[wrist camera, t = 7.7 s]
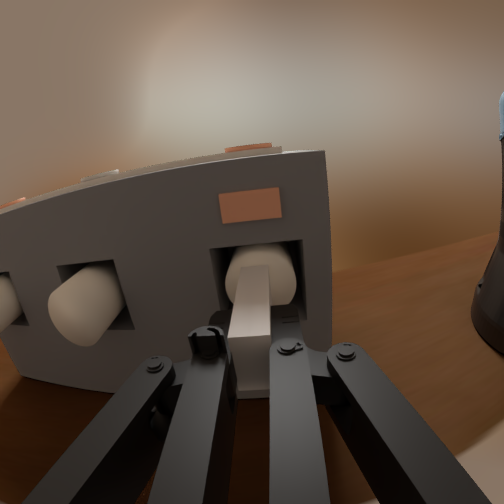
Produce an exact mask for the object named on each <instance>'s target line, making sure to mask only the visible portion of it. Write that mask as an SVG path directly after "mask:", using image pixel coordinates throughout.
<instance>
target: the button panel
mask: <svg viewBox="0 0 504 504" xmlns="http://www.w3.org/2000/svg"><path fill="white" fill-rule="evenodd" d="M118 171H119V170H113V171H108V172H104V173H100V174H96V175H92V176H88V177H85V178H82V179H81V183H79V184H75V185H72V186H69V187H65V188H62V189H58V190H55V191H52V192H49V193H45V194H42V195H39V196H36V197H33V198H30V199H28V200H26V199H25V197H24V198H21V199H18V200H15V201H12V202H9V203H7V204H4V205H1V206H0V275H1V274H3V273H5V272H8V271H9V273H10V276H11V279H12V282H13V285H14V288H15V290H16V293H17V296H18V298H19V301H20V303H21V306H22V308H23V311H24V313H22V314H21V315H20V316H19V317H18V318H17V319H15V320H14V321H13V322H12V323H11V324H10V325H9V326H8V327H6V328H5V329H4V330H3V331H2V332H1V333H0V337H1V339H2V341H3V343H4V345H5V347H6V349H7V351H8V353H9V355H10V357H11V359H12V361H13V362H14V364H15V366H16V368H17V369H18V371H19V373H20V375H21V376H25V377H29V378H33V379H37V380H41V381H46V382H50V383H55V384H60V385H65V386H70V387H76V388H81V389H87V390H94V391H101V392H108V393H116V392H117V391H118V389H119V388H120V387H121V386H122V385H123V384H124V383H125V381H126V380H127V379H128V378H129V377H130V376H131V374H132V373H133V372H134V371H135V370H136V369H137V368H138V366H139V365H140V364H141V363H142V362H143V361H145V360H146V359H148V358H150V357H153V356H166V357H169V358H170V359H171V361H172V363H178V362H183V361H186V360H189V359H191V357H192V351H191V347H190V343H189V340H188V335H189V334H190V332H192V331H193V330H195V329H197V328H199V327H203V326H208V325H209V320H210V317H211V316H212V315H213V314H214V313H215V312H216V311H221V310H233V306H234V304H233V303H232V302H231V300H230V299H229V297H228V295H227V292H226V287H225V280H226V275H227V272H228V268H229V265H230V262H231V258H232V255H233V252H234V249H235V246H241V245H251V244H261V243H271V242H280V241H287V242H288V245H289V250H290V254H291V258H292V263H293V267H294V272H295V276H296V291H295V294H294V296H293V298H292V300H291V302H290V303H289V304H293V305H294V306H295V307H296V308H297V309H298V314H299V320H300V325H301V330H302V336H303V341H304V343H305V345H306V346H307V347H308V348H310V349H312V350H315V351H319V352H328V350H329V349H330V348H331V344H332V259H331V231H330V212H329V197H328V183H327V171H326V160H325V151H322V150H321V151H320V150H300V151H287V152H282V148H281V146H280V147H272V144H271V143H263V144H253V145H245V146H237V147H231V148H226V149H225V153H221V154H215V155H208V156H202V157H196V158H190V159H184V160H179V161H173V162H168V163H163V164H158V165H153V166H149V167H144V168H139V169H134V170H130V171H126V172H121V173H119V172H118ZM111 259H113V260H114V263H115V267H116V270H117V274H118V277H119V281H120V284H121V288H122V291H123V294H124V297H125V300H126V306H125V307H124V308H123V309H122V311H121V312H120V313H119V314H118V316H117V317H116V318H115V319H114V321H113V322H112V323H111V325H110V326H109V327H108V328H107V330H106V331H105V332H104V334H103V335H102V336H101V337H100V339H99V340H98V341H97V342H96V343H95V344H94V345H92V346H88V347H84V346H79V345H76V344H74V343H72V342H70V341H69V340H68V339H66V338H65V337H64V336H63V335H62V334H61V333H60V332H59V331H58V330H57V328H56V327H55V325H54V324H53V322H52V320H51V317H50V315H49V311H48V300H49V297H50V295H51V293H52V292H53V291H54V290H56V289H57V288H58V287H59V286H61V285H62V284H63V283H64V282H66V281H67V280H68V279H70V278H71V277H72V276H73V275H75V274H76V273H77V272H79V271H80V270H81V269H83V268H84V267H85V266H86V265H88V264H89V263H90V262H93V261H102V260H111ZM236 394H237V398H238V399H247V398H266V397H270V389H264V390H245V391H239V390H238V386H237V387H236Z"/></svg>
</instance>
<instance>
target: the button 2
mask: <svg viewBox="0 0 504 504" xmlns="http://www.w3.org/2000/svg"><path fill="white" fill-rule="evenodd" d="M258 265H268V267H269V277H270V286H271V296H272V306H274V305H284V304H289V303H290V302H291V300H292V298H293V296H294V294H295V291H296V276H295V272H294V267H293V263H292V258H291V254H290V250H289V245H288V242H287V241H280V242H271V243H261V244H251V245H241V246H235V249H234V252H233V255H232V258H231V262H230V265H229V268H228V272H227V275H226V280H225V287H226V292H227V295H228V297H229V299H230V300H231V302H232V303H233V304H234V301H235V296H236V290H237V285H238V280H239V275H240V270H241V267H247V266H258Z"/></svg>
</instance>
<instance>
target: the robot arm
mask: <svg viewBox="0 0 504 504" xmlns="http://www.w3.org/2000/svg"><path fill="white" fill-rule="evenodd" d="M499 111H500V132H501V133H500V135H499V139H500V141H501V145H502V182H503V183H502V207H501V221H500V231H499V238H498V242H497V245H496V247H495V249H494V252H493V254H492V256H491V258H490V261H489V263H488V265H487V267H486V270H485V272H484V275H483V277H482V278H481V280H480V281H479V283H478V285H477V287H476V290H475V293H474V298H473V302H472V307H471V318H472V321H473V323H474V326H475V328H476V329H477V331H478V332H479V333H480V335H481V336H482V337H483V338H484V339H485V340H486V341H487V342H488V343H489V344H490V345H491V346H493V347H494V348H495V349H497V350H498V351H499V352H501V353H503V354H504V92H503V93H502V95H501V97H500V101H499ZM188 340H189V343H190V347H191V351H192V357H191V359H189V360H186V361H183V362H178V363H172V361H171V359H170V358H169V357H166V356H153V357H150V358H148V359H146V360H145V361H143V362H142V363H141V364H140V365H139V366H138V368H137V369H136V370H135V371H134V372H133V373H132V374H131V376H130V377H129V378H128V379H127V380H126V381H125V383H124V384H123V385H122V386H121V387H120V388H119V389H118V391H117V392H116V393H115V394H114V395H113V396H112V397H111V399H110V400H109V401H108V402H107V403H106V404H105V406H104V407H103V408H102V409H101V410H100V411H99V413H98V414H97V415H96V416H95V417H94V418H93V420H92V421H91V422H90V423H89V424H88V425H87V427H86V428H85V429H84V430H83V431H82V432H81V434H80V435H79V436H78V437H77V438H76V439H75V441H74V442H73V443H72V444H71V445H70V446H69V448H68V449H67V450H66V451H65V452H64V453H63V455H62V456H61V457H60V458H59V459H58V460H57V462H56V463H55V464H54V465H53V466H52V468H51V469H50V470H49V471H48V472H47V474H46V475H45V476H44V477H43V478H42V479H41V481H40V482H39V483H38V484H37V485H36V487H35V488H34V489H33V490H32V491H31V493H30V494H29V495H28V496H27V497H26V499H25V500H24V501H23V502H22V503H21V504H134V503H135V501H136V500H137V498H138V497H139V495H140V494H141V492H142V490H143V489H144V487H145V486H146V484H147V482H148V481H149V479H150V478H151V476H152V474H153V473H154V471H155V469H156V468H157V466H158V468H157V471H156V474H155V478H154V481H153V485H152V488H151V492H150V495H149V499H148V503H147V504H227V500H228V491H229V481H230V471H231V462H232V452H233V442H234V433H235V423H236V413H237V404H238V398H237V394H236V387H237V386H238V390H239V391H245V390H264V389H270V482H269V504H330V497H329V489H328V481H327V474H326V466H325V459H324V452H323V445H322V438H321V432H320V425H319V419H318V412H317V406H316V404H322V405H325V407H326V409H327V411H328V413H329V415H330V416H331V418H332V420H333V422H334V424H335V425H336V427H337V429H338V431H339V432H340V434H341V436H342V438H343V440H344V441H345V443H346V445H347V447H348V449H349V450H350V452H351V454H352V456H353V457H354V459H355V461H356V463H357V464H358V466H359V468H360V470H361V472H362V473H363V475H364V477H365V479H366V480H367V482H368V484H369V486H370V487H371V489H372V491H373V493H374V494H375V496H376V498H377V500H378V501H379V503H380V504H492V503H491V502H490V501H489V499H488V498H487V497H486V496H485V495H484V493H483V492H482V491H481V489H480V488H479V487H478V486H477V484H476V483H475V482H474V480H473V479H472V478H471V477H470V476H469V474H468V473H467V472H466V471H465V469H464V468H463V467H462V466H461V464H460V463H459V462H458V461H457V459H456V458H455V457H454V456H453V455H452V453H451V452H450V451H449V450H448V448H447V447H446V446H445V445H444V444H443V442H442V441H441V440H440V439H439V438H438V436H437V435H436V434H435V433H434V432H433V430H432V429H431V428H430V427H429V426H428V424H427V423H426V422H425V421H424V420H423V418H422V417H421V416H420V415H419V414H418V412H417V411H416V410H415V409H414V408H413V407H412V405H411V404H410V403H409V402H408V401H407V399H406V398H405V397H404V396H403V395H402V394H401V392H400V391H399V390H398V389H397V388H396V387H395V385H394V384H393V383H392V382H391V381H390V380H389V378H388V377H387V376H386V375H385V374H384V373H383V371H382V370H381V369H380V368H379V367H378V366H377V364H376V363H375V362H374V361H373V360H372V359H371V358H370V356H369V355H368V354H367V353H366V352H365V351H364V349H363V348H361V347H360V346H359V345H357V344H354V343H347V342H344V343H338V344H336V345H334V346H332V347H331V348H330V349H329V350H328V352H319V351H315V350H312V349H310V348H308V347H307V346H306V345H305V343H304V341H303V336H302V330H301V325H300V320H299V314H298V309H297V308H296V307H295V306H294V305H293V304H284V305H274V306H272V296H271V286H270V277H269V267H268V265H258V266H247V267H241V270H240V275H239V280H238V285H237V290H236V296H235V301H234V306H233V310H221V311H216V312H215V313H214V314H213V315H212V316H211V317H210V320H209V325H208V326H203V327H199V328H197V329H195V330H193V331H192V332H190V334H189V335H188Z"/></svg>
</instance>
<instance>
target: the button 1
mask: <svg viewBox="0 0 504 504" xmlns="http://www.w3.org/2000/svg"><path fill="white" fill-rule="evenodd" d="M22 313H24V311H23V308H22V306H21V303H20V301H19V298H18V296H17V293H16V290H15V288H14V285H13V282H12V279H11V276H10V273H9V271H8V272H5V273H3V274H1V275H0V333H1V332H2V331H3V330H4V329H5V328H6V327H8V326H9V325H10V324H11V323H12V322H13V321H14V320H15V319H17V318H18V317H19V316H20V315H21V314H22Z"/></svg>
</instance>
